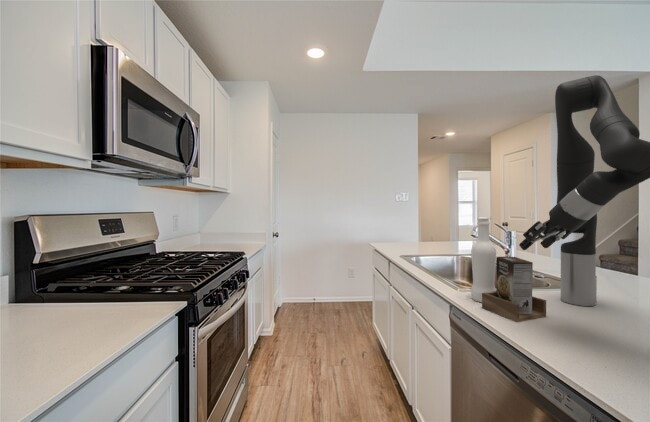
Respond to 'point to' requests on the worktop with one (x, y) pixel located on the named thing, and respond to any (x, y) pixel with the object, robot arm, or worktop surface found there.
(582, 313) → the worktop surface
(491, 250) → the bottle
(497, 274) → the coffee box
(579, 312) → the worktop surface
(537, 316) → the holder
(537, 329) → the worktop surface
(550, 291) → the worktop surface
